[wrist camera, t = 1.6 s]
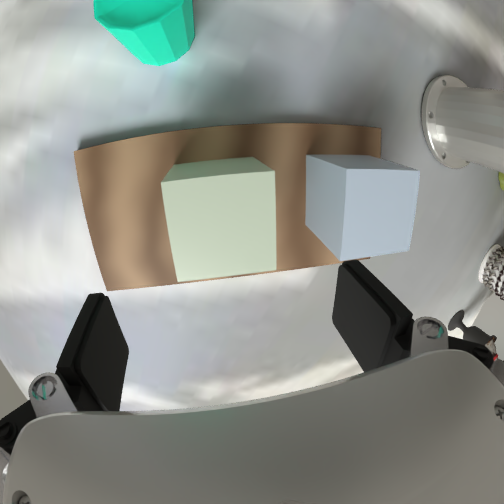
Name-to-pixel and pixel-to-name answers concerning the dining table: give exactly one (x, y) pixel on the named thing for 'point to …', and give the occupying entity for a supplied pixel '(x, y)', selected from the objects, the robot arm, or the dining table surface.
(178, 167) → the pale green block
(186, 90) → the dining table surface
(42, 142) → the dining table surface
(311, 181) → the blue cover
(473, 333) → the sundae
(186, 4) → the candle
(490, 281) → the decorative candle
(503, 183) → the plant pot
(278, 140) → the board
